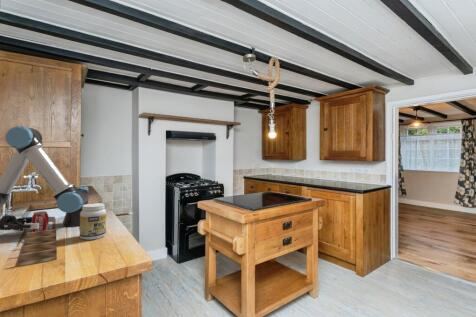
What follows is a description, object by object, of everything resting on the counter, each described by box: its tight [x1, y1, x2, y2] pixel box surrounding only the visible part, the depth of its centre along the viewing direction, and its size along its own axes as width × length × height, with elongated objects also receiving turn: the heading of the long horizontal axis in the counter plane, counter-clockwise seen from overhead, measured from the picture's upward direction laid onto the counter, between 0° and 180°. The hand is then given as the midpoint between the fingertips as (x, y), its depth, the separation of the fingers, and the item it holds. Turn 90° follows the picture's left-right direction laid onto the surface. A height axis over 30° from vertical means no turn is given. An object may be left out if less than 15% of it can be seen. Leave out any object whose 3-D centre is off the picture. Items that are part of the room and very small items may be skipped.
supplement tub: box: [79, 202, 107, 241], centre depth 137 cm, size 12×12×17 cm
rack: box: [18, 228, 58, 267], centre depth 118 cm, size 12×34×4 cm, turn 35°
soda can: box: [31, 210, 49, 232], centre depth 139 cm, size 7×7×12 cm
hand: (46, 222), depth 139 cm, fingers open, 13 cm apart
